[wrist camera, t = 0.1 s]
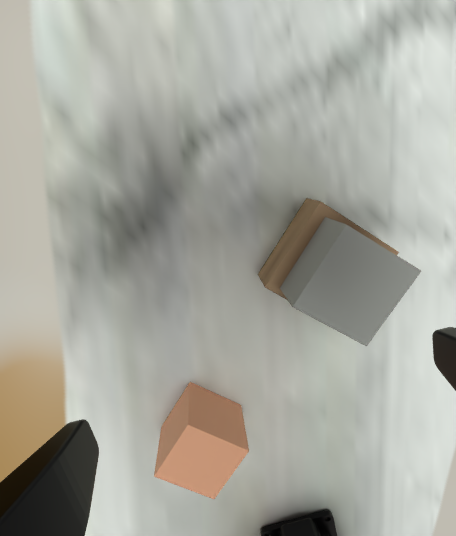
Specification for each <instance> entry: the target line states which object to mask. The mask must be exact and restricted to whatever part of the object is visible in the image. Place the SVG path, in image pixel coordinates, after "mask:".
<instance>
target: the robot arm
mask: <svg viewBox="0 0 456 536" xmlns="http://www.w3.org/2000/svg"><path fill="white" fill-rule="evenodd" d="M433 354H434V362H435V364H436V366H437V368H438V369H439V371H440V372H441V373H442V374H443V376H444V377H445V378H446V379H447V381H448V382H449V383H450V384H451V386H452V387H453V388H454V389H455V391H456V328H453V327H447V328H444V329H440V330H436V331H435V332H434V333H433ZM98 456H99V447H98V444H97V441H96V439H95V437H94V434H93V432H92V430H91V427H90V425H89V423H88V422H87V421H86V420H84V419H82V420H78V421H74V422H70V423H68V424H67V425H65V426H64V427H63V428H62V429H61V430H60V431H59V432H57V433H56V434H55V435H54V436H53V437H52V438H51V439H50V440H48V441H47V442H46V443H45V444H44V445H43V446H42V447H40V448H39V449H38V450H37V451H36V452H35V453H33V454H32V455H31V456H30V457H29V458H28V459H27V460H25V461H24V462H23V463H22V464H21V465H20V466H19V467H17V468H16V469H15V470H14V471H13V472H12V473H11V474H10V475H8V476H7V477H6V478H5V479H4V480H3V481H2V482H0V536H84V535H85V531H86V527H87V523H88V518H89V513H90V507H91V501H92V494H93V488H94V482H95V475H96V469H97V462H98ZM261 536H337V533H336V528H335V523H334V519H333V516H332V513H331V512H330V511H328V510H327V511H322V512H318V513H315V514H311V515H307V516H304V517H300V518H296V519H293V520H289V521H285V522H281V523H278V524H274V525H270V526H267V527H264V528H262V529H261Z"/></svg>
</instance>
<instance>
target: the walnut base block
mask: <svg viewBox="0 0 456 536" xmlns="http://www.w3.org/2000/svg"><path fill="white" fill-rule="evenodd" d="M325 217H326V218H329V219H332V220H335V221H338V222H341V223H344V224H346V225H348V226H350V227H351V228H353V229H355V230H356V231H358V232H359V233H361V234H363V235H364V236H366V237H367V238H369V239H371V240H372V241H374V242H376V243H377V244H379V245H380V246H382V247H384V248H385V249H387V250H388V251H390V252H392V253H393V254H395V255H397V254H398V253H399V252H398V251H396V250H395V249H393V248H392V247H390V246H389V245H387V244H385V243H384V242H382V241H381V240H379V239H378V238H376V237H375V236H373V235H372V234H370V233H369V232H367V231H365V230H364V229H362V228H361V227H359V226H358V225H356V224H355V223H353V222H352V221H350V220H348V219H347V218H345V217H344V216H342V215H341V214H339V213H338V212H336V211H335V210H333V209H332V208H330V207H328V206H327V205H325V204H324V203H322V202H320V201H316V200H312V199H308V198H306V200H305V201H304V203H303V205H302V206H301V208H300V209H299V211H298V212H297V214H296V216H295V217H294V219H293V220H292V222H291V223H290V225H289V227H288V228H287V230H286V231H285V233H284V234H283V236H282V237H281V239H280V241H279V242H278V244H277V245H276V247H275V248H274V250H273V252H272V253H271V255H270V256H269V258H268V259H267V261H266V263H265V264H264V266H263V267H262V269H261V270H260V272H259V274H258V275H259V277H260V279H261V281H262V283H263V284H264V286H265V288H267V289H269V290H271V291H273V292H274V293H276V294H278V295H280V296H281V297H283V298H285V299H287V298H286V297H285V295H284V294H283V292H282V291H281V289H280V287H281V285H282V284H283V282H284V281H285V279H286V278H287V276H288V274H289V273H290V271H291V270H292V268H293V267H294V265H295V263H296V262H297V260H298V259H299V257H300V256H301V254H302V252H303V251H304V249H305V248H306V246H307V245H308V243H309V241H310V240H311V238H312V237H313V235H314V234H315V232H316V231H317V229H318V227H319V226H320V224H321V223H322V221H323V220H324V218H325Z"/></svg>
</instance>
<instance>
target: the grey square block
mask: <svg viewBox="0 0 456 536" xmlns="http://www.w3.org/2000/svg"><path fill="white" fill-rule="evenodd" d="M420 272H421V270H419V269H418V268H416V267H414V266H413V265H411V264H410V263H408V262H406V261H405V260H403V259H401V258H400V257H398V256H397V255H395V254H393V253H392V252H390V251H388V250H387V249H385V248H384V247H382V246H380V245H379V244H377V243H376V242H374V241H372V240H371V239H369V238H367V237H366V236H364V235H363V234H361V233H359V232H358V231H356V230H355V229H353V228H351V227H350V226H348V225H346V224H344V223H341V222H338V221H335V220H332V219H329V218H326V217H325V218H324V220H323V221H322V223H321V224H320V226H319V227H318V229H317V231H316V232H315V234H314V235H313V237H312V238H311V240H310V241H309V243H308V245H307V246H306V248H305V249H304V251H303V252H302V254H301V256H300V257H299V259H298V260H297V262H296V263H295V265H294V267H293V268H292V270H291V271H290V273H289V274H288V276H287V278H286V279H285V281H284V282H283V284H282V285H281V287H280V289H281V291H282V292H283V294H284V295H285V297H286V298H287V300H288V301H289V302H290V304H291V305H292V307H294V308H296V309H297V310H299V311H301V312H303V313H305V314H307V315H309V316H311V317H312V318H314V319H316V320H318V321H320V322H322V323H324V324H326V325H327V326H329V327H331V328H333V329H335V330H337V331H339V332H340V333H342V334H344V335H346V336H348V337H350V338H352V339H354V340H355V341H357V342H359V343H361V344H363V345H365V346H367V345H368V343H369V342H370V341H371V339H372V338H373V337H374V335H375V334H376V333H377V331H378V330H379V328H380V327H381V326H382V324H383V323H384V322H385V320H386V319H387V317H388V316H389V315H390V313H391V312H392V311H393V309H394V308H395V307H396V305H397V304H398V302H399V301H400V300H401V298H402V297H403V296H404V294H405V293H406V291H407V290H408V289H409V287H410V286H411V285H412V283H413V282H414V281H415V279H416V278H417V276H418V275H419V274H420Z"/></svg>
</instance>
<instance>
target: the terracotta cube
mask: <svg viewBox="0 0 456 536" xmlns="http://www.w3.org/2000/svg"><path fill="white" fill-rule="evenodd" d="M248 452H249V448H248V442H247V436H246V431H245V425H244V419H243V413H242V408H241V405H240V404H237V403H235V402H233V401H231V400H229V399H227V398H224V397H222V396H220V395H218V394H216V393H213V392H211V391H209V390H207V389H205V388H203V387H200V386H198V385H196V384H194V383H192V382H190V383H189V384H188V386H187V387H186V389H185V390H184V392H183V394H182V395H181V397H180V398H179V400H178V401H177V403H176V405H175V406H174V408H173V409H172V411H171V412H170V414H169V416H168V417H167V419H166V420H165V422H164V423H163V425H162V427H161V434H160V440H159V447H158V454H157V460H156V467H155V473H154V477H157V478H160V479H162V480H165V481H167V482H170V483H173V484H175V485H178V486H181V487H183V488H186V489H188V490H191V491H194V492H196V493H199V494H202V495H204V496H207V497H209V498H212V499H215V497H216V496H217V495H218V493H219V492H220V490H221V489H222V488H223V486H224V485H225V484H226V482H227V481H228V479H229V478H230V477H231V475H232V474H233V472H234V471H235V470H236V468H237V467H238V465H239V464H240V463H241V461H242V460H243V459H244V457H245V456H246V454H247V453H248Z"/></svg>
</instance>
